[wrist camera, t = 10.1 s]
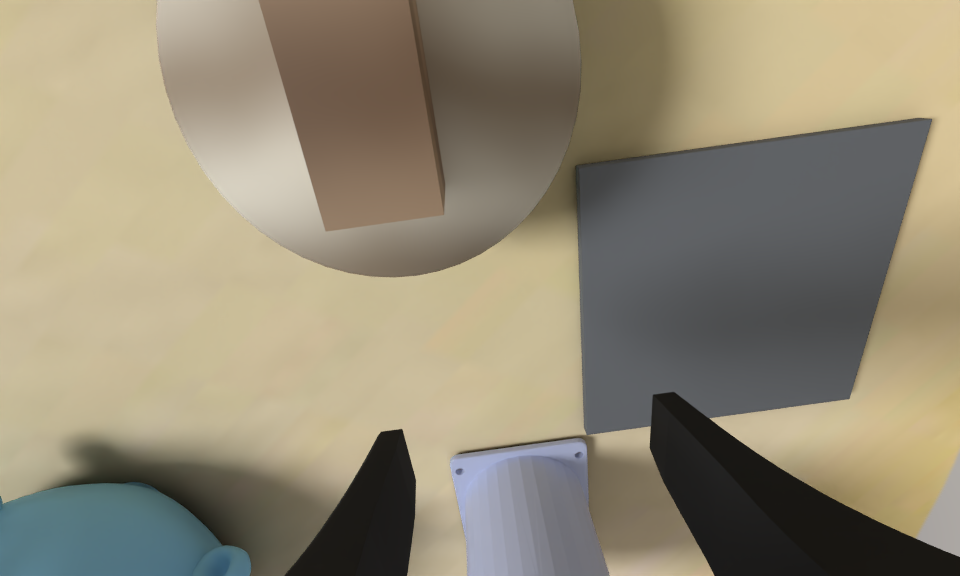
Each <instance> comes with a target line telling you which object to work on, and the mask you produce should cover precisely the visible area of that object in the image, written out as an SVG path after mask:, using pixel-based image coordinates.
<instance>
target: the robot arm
mask: <svg viewBox="0 0 960 576" xmlns="http://www.w3.org/2000/svg"><path fill="white" fill-rule="evenodd" d="M650 450H651V452H652V455H653V457H654V460H655V462H656V465H657V467H658V470H659V472H660V475H661V477H662V479H663V482H664V484H665V485H666V487H667V489H668V491H669V493H670V495H671V497H672V498H673V500H674V502H675V504H676V506H677V507H678V509H679V511H680V513H681V515H682V516H683V518H684V520H685V522H686V524H687V525H688V527H689V529H690V531H691V533H692V534H693V536H694V538H695V540H696V542H697V543H698V545H699V547H700V549H701V551H702V552H703V554H704V556H705V558H706V560H707V562H708V563H709V565H710V567H711V569H712V571H713V573H714V575H715V576H960V557H958V556H956V555H953V554H951V553H948V552H945V551H943V550H941V549H938V548H936V547H934V546H931V545H929V544H927V543H924V542H922V541H920V540H917V539H915V538H913V537H911V536H908V535H906V534H904V533H901V532H899V531H897V530H895V529H893V528H891V527H888V526H886V525H884V524H882V523H880V522H878V521H876V520H874V519H872V518H870V517H868V516H866V515H864V514H862V513H860V512H858V511H856V510H854V509H852V508H850V507H848V506H846V505H844V504H842V503H840V502H838V501H836V500H834V499H832V498H830V497H829V496H827V495H825V494H823V493H821V492H819V491H818V490H816V489H814V488H813V487H811V486H809V485H807V484H806V483H804V482H802V481H800V480H799V479H797V478H795V477H793V476H792V475H790V474H789V473H787V472H785V471H784V470H782V469H780V468H779V467H777V466H776V465H774V464H773V463H771V462H770V461H768V460H767V459H765V458H764V457H762V456H760V455H759V454H757V453H756V452H754V451H753V450H752V449H750V448H749V447H747V446H746V445H744V444H743V443H741V442H740V441H739V440H737V439H736V438H735V437H733V436H732V435H730V434H729V433H728V432H726V431H725V430H723V429H722V428H721V427H719V426H718V425H717V424H715V423H714V422H713V421H712V420H710V419H709V418H708V417H706V416H705V415H704V414H702V413H701V412H700V411H698V410H697V409H696V408H695V407H693V406H692V405H691V404H689V403H688V402H687V401H686V400H684V399H683V398H682V397H680V396H679V395H678V394H676V393H675V392H668V393H661V394H653V398H652V416H651V434H650ZM577 452H580V453H578V454H576V453H577ZM450 468H451V473H452V477H453V482H454V487H455V491H456V496H457V501H458V505H459V510H460V515H461V519H462V524H463V529H464V533H465V538H466V549H467V576H610V575H609V572H608V568H607V565H606V562H605V559H604V556H603V553H602V549H601V546H600V543H599V540H598V537H597V534H596V530H595V527H594V524H593V521H592V518H591V515H590V511H589V496H588V461H587V445H586V443H585V441H584V440H583V439H581V438H575V439H567V440H560V441H553V442H545V443H538V444H531V445H523V446H516V447H509V448H502V449H494V450H487V451H480V452H472V453H465V454H458V455H454V456H453V457H452V458H451V459H450ZM459 468H461V470H459ZM415 497H416V479H415V475H414V471H413V468H412V464H411V460H410V456H409V453H408V449H407V445H406V441H405V438H404V434H403V430H402V429H399V430H391V431H384V432H381V433H380V434H379V435H378V437H377V439H376V441H375V442H374V444H373V446H372V448H371V450H370V452H369V454H368V455H367V457H366V459H365V461H364V463H363V464H362V466H361V468H360V470H359V471H358V473H357V475H356V476H355V478H354V480H353V481H352V483H351V485H350V486H349V488H348V489H347V491H346V493H345V494H344V496H343V498H342V499H341V501H340V502H339V504H338V505H337V507H336V508H335V510H334V511H333V513H332V514H331V515H330V517H329V518H328V520H327V521H326V523H325V524H324V526H323V527H322V529H321V530H320V531H319V533H318V534H317V535H316V537H315V538H314V540H313V541H312V542H311V544H310V545H309V546H308V547H307V549H306V550H305V551H304V553H303V554H302V555H301V556H300V558H299V559H298V560H297V561H296V563H295V564H294V565H293V566H292V567H291V569H290V570H289V571H288V572H287V573H286V575H285V576H407V573H408V565H409V558H410V551H411V543H412V535H413V528H414V520H415Z"/></svg>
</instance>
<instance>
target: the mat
mask: <svg viewBox="0 0 960 576" xmlns="http://www.w3.org/2000/svg"><path fill="white" fill-rule="evenodd" d="M931 122H932V119H925V118H915V119H908V120H901V121H893V122H886V123H879V124H872V125H865V126H857V127H850V128H843V129H836V130H829V131H821V132H814V133H807V134H800V135H793V136H785V137H778V138H771V139H764V140H757V141H750V142H742V143H735V144H728V145H721V146H714V147H706V148H699V149H692V150H685V151H678V152H670V153H663V154H656V155H649V156H642V157H634V158H627V159H620V160H613V161H606V162H599V163H591V164H584V165H577V166H576V187H577V218H578V250H579V281H580V313H581V344H582V376H583V407H584V428H585V431H586V434H587V435H590V434H597V433H605V432H612V431H619V430H626V429H634V428H641V427H648V426H651V416H652V398H653V394H661V393H668V392H675V393H676V394H678V395H679V396H680V397H682V398H683V399H684V400H686V401H687V402H688V403H689V404H691V405H692V406H693V407H695V408H696V409H697V410H698V411H700V412H701V413H702V414H704V415H705V416H706V417H708V418H714V417H721V416H728V415H736V414H743V413H750V412H758V411H765V410H772V409H780V408H787V407H794V406H801V405H809V404H816V403H823V402H831V401H838V400H845V399H850V395H851V392H852V388H853V385H854V382H855V378H856V375H857V372H858V368H859V365H860V361H861V358H862V355H863V351H864V348H865V344H866V341H867V338H868V334H869V331H870V328H871V324H872V321H873V317H874V314H875V311H876V307H877V304H878V301H879V297H880V294H881V290H882V287H883V284H884V280H885V277H886V274H887V270H888V267H889V263H890V260H891V257H892V253H893V250H894V247H895V243H896V240H897V236H898V233H899V230H900V226H901V223H902V220H903V216H904V213H905V209H906V206H907V203H908V199H909V196H910V193H911V189H912V186H913V182H914V179H915V176H916V172H917V169H918V165H919V162H920V159H921V155H922V152H923V149H924V145H925V142H926V138H927V135H928V132H929V128H930V125H931Z"/></svg>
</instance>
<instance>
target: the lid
mask: <svg viewBox="0 0 960 576" xmlns="http://www.w3.org/2000/svg"><path fill="white" fill-rule="evenodd" d="M156 30H157V41H158V53H159V61H160V66H161V70H162V75H163V80H164V85H165V89H166V92H167V95H168V98H169V101H170V104H171V107H172V110H173V113H174V116H175V119H176V121H177V123H178V125H179V128H180V130H181V132H182V134H183V136H184V138H185V141H186V143H187V145H188V147H189V148H190V150H191V152H192V153H193V155H194V157H195V158H196V160H197V162H198V163H199V165H200V167H201V168H202V170H203V171H204V173H205V174H206V175H207V177H208V178H209V179H210V181H211V182H212V183H213V185H214V186H215V187H216V189H217V190H218V191H219V193H220V194H221V195H222V196H223V197H224V198H225V199H226V200H227V201H228V202H229V203H230V204H231V205H232V206H233V208H234V209H235V210H236V211H237V212H238V213H239V214H240V215H241V216H243V217H244V218H245V219H246V220H247V221H249V222H250V223H251V224H252V225H253V226H254V227H256V228H257V229H258V230H259V231H260V232H262V233H263V234H265V235H266V236H268V237H269V238H271V239H272V240H274V241H275V242H276V243H278V244H279V245H281V246H283V247H285V248H286V249H288V250H290V251H292V252H294V253H296V254H298V255H299V256H301V257H303V258H306V259H308V260H311V261H313V262H316V263H318V264H321V265H323V266H326V267H329V268H333V269H337V270H340V271H344V272H347V273H353V274H359V275H366V276H374V277H404V276H417V275H422V274H427V273H431V272H436V271H440V270H443V269H446V268H449V267H452V266H455V265H458V264H461V263H463V262H465V261H467V260H469V259H471V258H473V257H475V256H477V255H480V254H481V253H483V252H484V251H486V250H487V249H489V248H491V247H492V246H494V245H495V244H497V243H498V242H500V241H501V240H502V239H503V238H504V237H506V236H507V235H508V234H509V233H510V232H512V231H513V230H514V229H515V228H516V227H517V226H518V225H519V224H520V223H521V222H522V221H523V220H524V219H525V218H526V217H527V216H528V215H529V214H530V213H531V211H532V210H533V209H534V208H535V206H536V205H537V204H538V202H539V201H540V199H541V198H542V197H543V195H544V194H545V193H546V191H547V190H548V188H549V186H550V184H551V182H552V181H553V179H554V177H555V175H556V173H557V172H558V170H559V168H560V165H561V163H562V161H563V158H564V156H565V153H566V151H567V148H568V146H569V143H570V139H571V136H572V132H573V128H574V125H575V121H576V117H577V110H578V103H579V97H580V89H581V50H580V38H579V29H578V24H577V19H576V14H575V9H574V4H573V0H157V19H156Z"/></svg>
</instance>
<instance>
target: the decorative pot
mask: <svg viewBox="0 0 960 576" xmlns="http://www.w3.org/2000/svg"><path fill="white" fill-rule="evenodd" d="M2 503H3V502H2V499H1V496H0V576H250V573H251V562H250V558H249V555H248V553H247V552H246V551H244V550H243V549H241V548H238V547H235V546H228V545H225V546H223V545H222V544H221V543H220V542H219V540H218V539H217V538H216V537H215V536H214V534H213V533H212V532H211V531H210V530H209V529H208V528H207V527H206V526H205V525H204V524H203V523H202V522H201V521H200V520H199V519H197V518H196V517H195V516H194V515H193V514H192V513H191V512H190V511H188V510H187V509H186V508H185V507H183V506H182V505H180V504H179V503H178V502H176V501H175V500H173V499H172V498H170V497H168V496H166V495H164V494H162V493H160V492H159V491H158V490H157V489H155V488H154V487H152V486H150V485H148V484H145V483H140V482H128V483H124V484H120V483H97V484H82V485H72V486H65V487H59V488H53V489H49V490H45V491H41V492H37V493H34V494H31V495H27V496H24V497H21V498H18V499H15V500H12V501H9V502H7V503H4V504H2Z"/></svg>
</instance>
